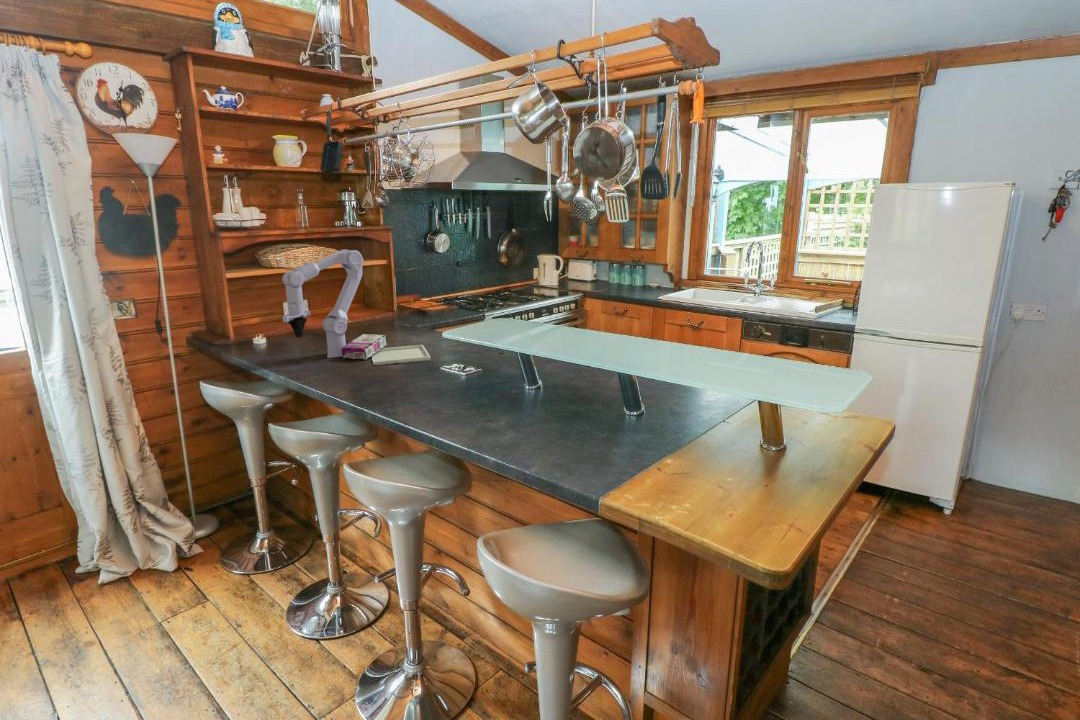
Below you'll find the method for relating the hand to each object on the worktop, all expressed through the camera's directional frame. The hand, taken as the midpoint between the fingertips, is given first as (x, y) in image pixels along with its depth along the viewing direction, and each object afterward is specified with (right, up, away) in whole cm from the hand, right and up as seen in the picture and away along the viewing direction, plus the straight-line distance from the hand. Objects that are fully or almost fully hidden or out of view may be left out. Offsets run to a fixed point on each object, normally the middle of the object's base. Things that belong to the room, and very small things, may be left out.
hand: (299, 336), depth 231 cm
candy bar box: (+20, -7, +5) cm, 21 cm away
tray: (+37, -8, +10) cm, 39 cm away
